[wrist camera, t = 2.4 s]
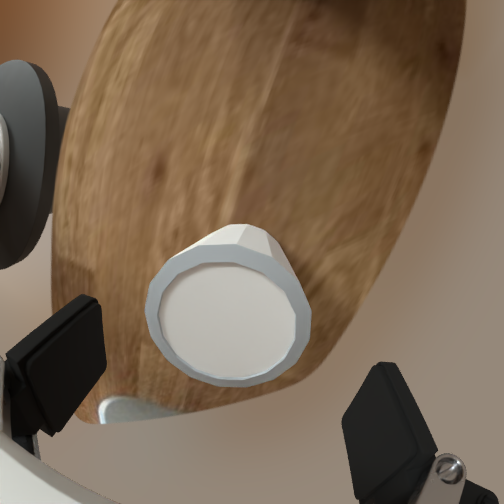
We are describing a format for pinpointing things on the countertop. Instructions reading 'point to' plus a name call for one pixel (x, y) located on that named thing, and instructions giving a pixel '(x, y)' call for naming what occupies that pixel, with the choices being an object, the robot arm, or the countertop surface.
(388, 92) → the countertop surface
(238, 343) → the white cylinder
